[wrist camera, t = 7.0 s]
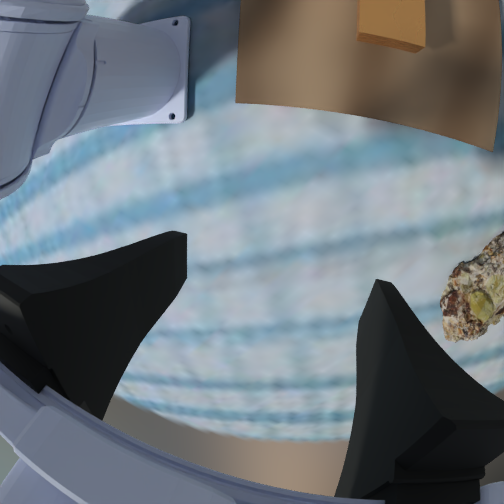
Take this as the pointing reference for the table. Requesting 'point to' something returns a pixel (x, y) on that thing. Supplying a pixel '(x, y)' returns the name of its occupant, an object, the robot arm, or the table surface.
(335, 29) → the base
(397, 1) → the press lever
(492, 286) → the mineral rock
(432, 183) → the table surface
